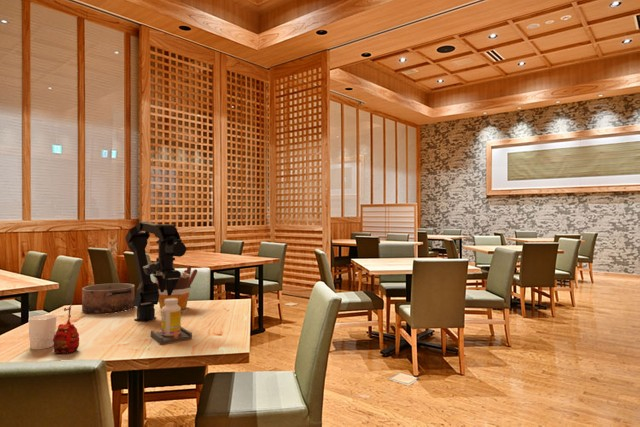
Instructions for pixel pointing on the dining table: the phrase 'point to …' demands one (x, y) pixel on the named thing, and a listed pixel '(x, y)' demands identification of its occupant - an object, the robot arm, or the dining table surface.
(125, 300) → the cooking pot
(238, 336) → the dining table surface
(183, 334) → the tray
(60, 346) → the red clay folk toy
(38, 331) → the white cup
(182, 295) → the bucket of meat
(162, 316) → the supplement bottle
